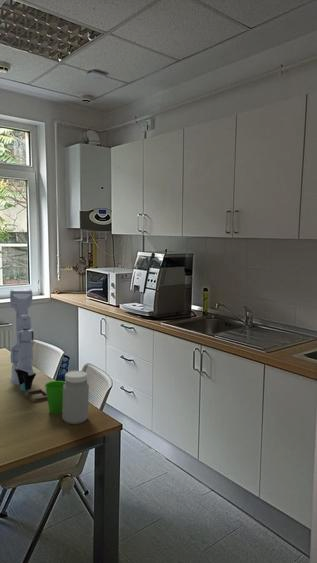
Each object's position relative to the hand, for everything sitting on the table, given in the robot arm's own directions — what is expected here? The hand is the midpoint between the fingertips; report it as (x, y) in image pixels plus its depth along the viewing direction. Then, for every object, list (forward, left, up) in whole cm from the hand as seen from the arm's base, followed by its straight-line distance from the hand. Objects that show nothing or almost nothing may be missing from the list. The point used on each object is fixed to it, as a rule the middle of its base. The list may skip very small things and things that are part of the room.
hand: (25, 386), depth 182 cm
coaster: (0, 0, -3) cm, 3 cm away
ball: (0, 0, -2) cm, 2 cm away
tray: (+8, +3, -3) cm, 9 cm away
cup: (+25, +4, -3) cm, 26 cm away
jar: (+36, +7, -3) cm, 37 cm away
